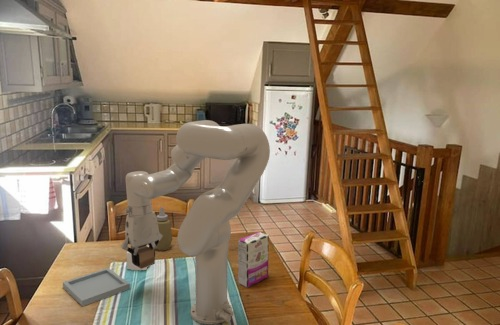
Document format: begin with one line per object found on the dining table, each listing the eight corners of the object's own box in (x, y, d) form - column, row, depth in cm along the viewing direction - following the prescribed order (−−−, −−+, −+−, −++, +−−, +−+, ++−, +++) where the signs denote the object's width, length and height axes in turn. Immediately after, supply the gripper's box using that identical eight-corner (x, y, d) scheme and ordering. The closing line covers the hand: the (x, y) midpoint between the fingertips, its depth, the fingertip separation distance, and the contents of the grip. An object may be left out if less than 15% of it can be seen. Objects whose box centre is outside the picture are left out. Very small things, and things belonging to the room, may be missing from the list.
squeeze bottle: (176, 247, 169) (175, 206, 166) (163, 253, 162) (162, 211, 159) (162, 242, 173) (161, 203, 170) (149, 249, 166) (147, 208, 163)
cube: (154, 263, 131) (153, 249, 130) (141, 268, 128) (140, 254, 127) (147, 259, 135) (145, 245, 134) (133, 264, 131) (132, 250, 130)
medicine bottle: (151, 263, 153) (151, 233, 151) (145, 271, 146) (144, 240, 144) (134, 261, 154) (133, 232, 152) (126, 270, 147) (125, 239, 145)
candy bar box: (258, 273, 147) (259, 231, 144) (268, 277, 144) (269, 234, 140) (236, 283, 139) (237, 239, 136) (247, 288, 136) (247, 243, 132)
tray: (129, 288, 134) (129, 283, 133) (82, 306, 123) (81, 300, 122) (108, 272, 145) (108, 267, 144) (63, 287, 134) (62, 282, 133)
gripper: (121, 217, 120) (125, 274, 123) (168, 206, 131) (172, 257, 134) (109, 213, 125) (114, 267, 128) (156, 202, 137) (160, 252, 140)
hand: (144, 261), depth 131 cm, fingers closed on cube, 5 cm apart
